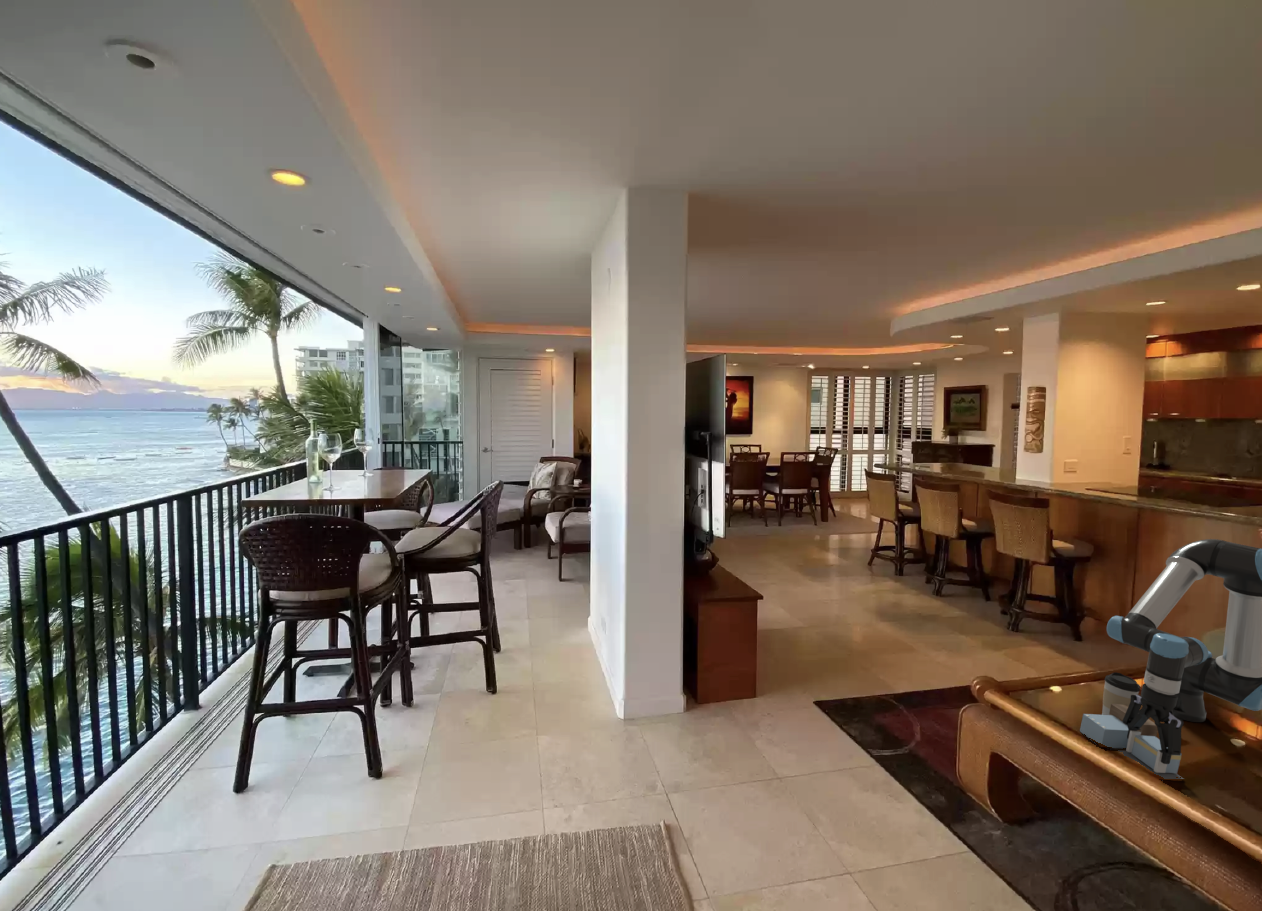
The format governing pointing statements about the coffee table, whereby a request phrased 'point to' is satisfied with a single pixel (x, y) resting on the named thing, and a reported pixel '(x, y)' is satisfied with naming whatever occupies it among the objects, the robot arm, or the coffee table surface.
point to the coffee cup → (1118, 691)
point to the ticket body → (1105, 730)
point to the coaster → (1164, 775)
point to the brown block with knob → (1148, 726)
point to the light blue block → (1152, 752)
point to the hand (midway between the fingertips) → (1145, 761)
